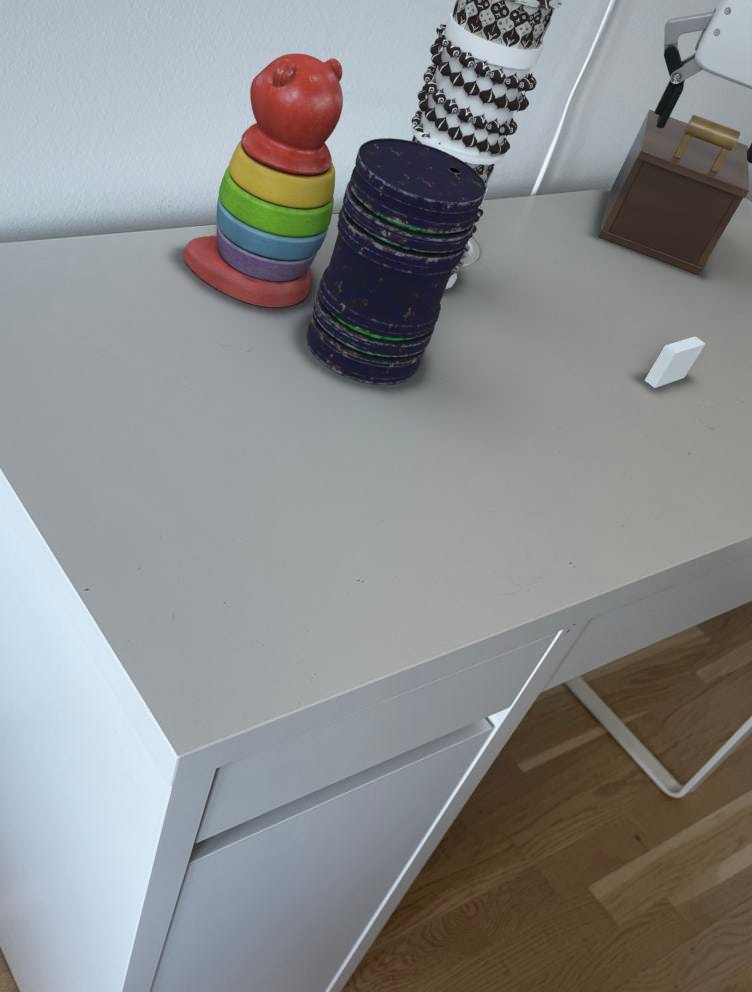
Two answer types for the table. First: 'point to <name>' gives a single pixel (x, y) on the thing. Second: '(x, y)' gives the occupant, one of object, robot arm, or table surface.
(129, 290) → the table surface
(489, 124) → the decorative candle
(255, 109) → the stacking bear
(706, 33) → the robot arm
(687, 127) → the lid
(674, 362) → the eraser
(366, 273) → the storage jar
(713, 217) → the chest
